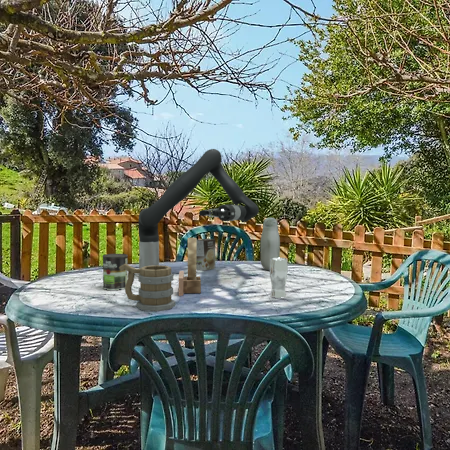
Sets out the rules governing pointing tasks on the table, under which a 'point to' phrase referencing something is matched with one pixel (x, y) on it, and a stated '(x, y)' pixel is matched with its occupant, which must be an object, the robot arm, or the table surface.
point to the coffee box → (205, 254)
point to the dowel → (192, 258)
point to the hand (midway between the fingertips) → (207, 213)
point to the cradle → (192, 285)
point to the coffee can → (114, 271)
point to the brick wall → (181, 282)
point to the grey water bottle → (269, 242)
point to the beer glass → (278, 276)
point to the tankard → (151, 287)
